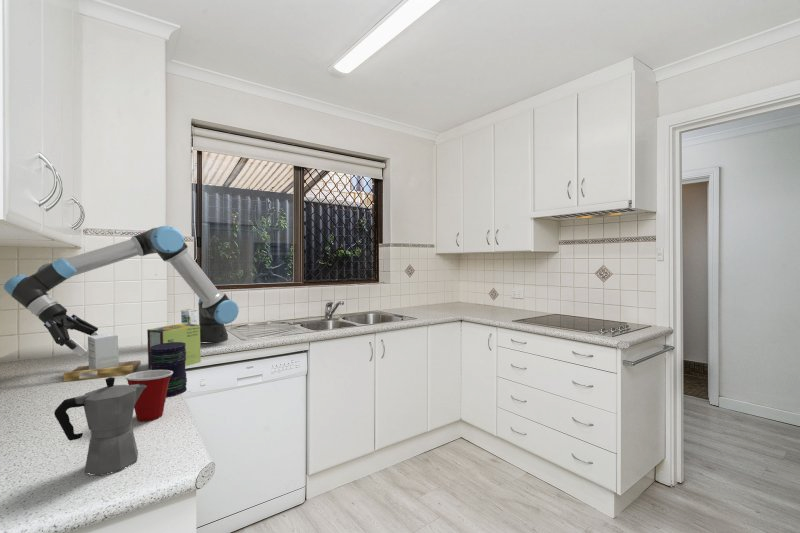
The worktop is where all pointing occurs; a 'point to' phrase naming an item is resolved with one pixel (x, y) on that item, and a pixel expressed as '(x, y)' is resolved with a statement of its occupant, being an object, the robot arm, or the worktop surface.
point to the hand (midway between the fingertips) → (95, 349)
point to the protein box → (177, 340)
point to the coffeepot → (105, 425)
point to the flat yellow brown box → (101, 371)
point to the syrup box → (189, 316)
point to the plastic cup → (150, 393)
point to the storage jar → (171, 364)
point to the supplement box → (103, 351)
